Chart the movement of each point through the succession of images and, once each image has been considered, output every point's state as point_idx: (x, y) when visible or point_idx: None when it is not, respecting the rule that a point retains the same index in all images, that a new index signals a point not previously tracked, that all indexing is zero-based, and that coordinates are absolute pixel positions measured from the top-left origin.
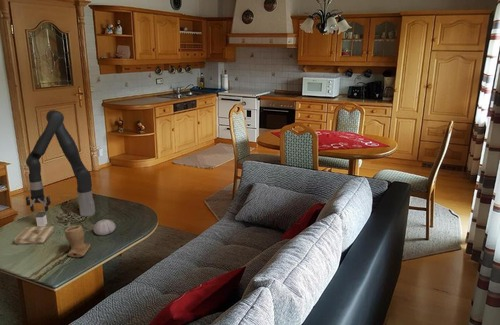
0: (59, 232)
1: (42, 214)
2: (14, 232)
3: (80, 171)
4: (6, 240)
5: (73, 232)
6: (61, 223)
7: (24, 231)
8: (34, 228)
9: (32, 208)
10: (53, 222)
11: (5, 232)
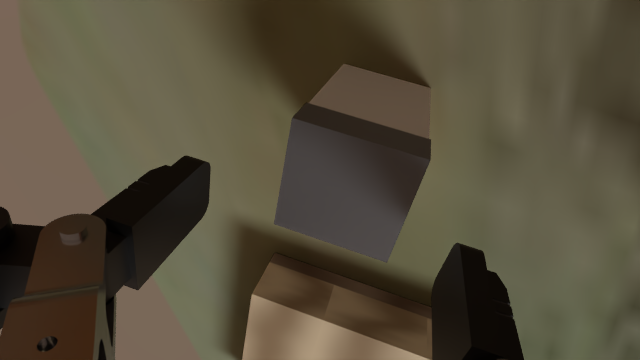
0: (546, 354)
1: (380, 245)
2: None
3: None
4: (173, 297)
5: None
6: (618, 162)
7: (261, 356)
8: (329, 346)
9: (167, 250)
10: (513, 86)
11: (94, 167)
